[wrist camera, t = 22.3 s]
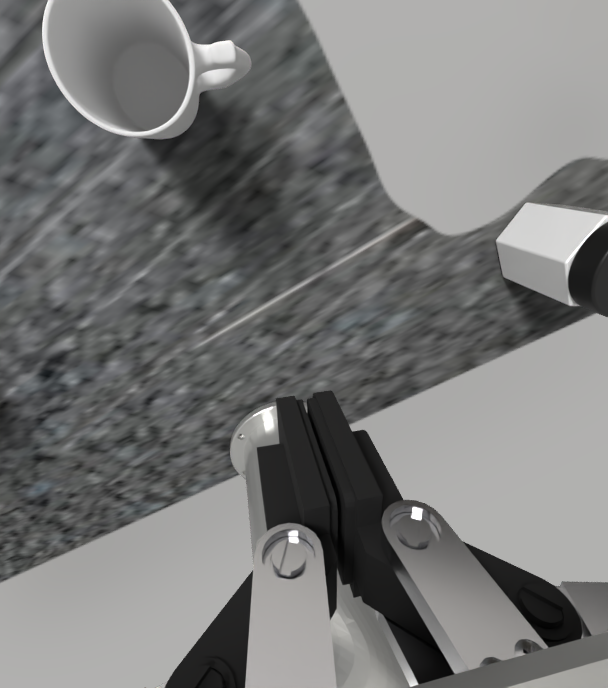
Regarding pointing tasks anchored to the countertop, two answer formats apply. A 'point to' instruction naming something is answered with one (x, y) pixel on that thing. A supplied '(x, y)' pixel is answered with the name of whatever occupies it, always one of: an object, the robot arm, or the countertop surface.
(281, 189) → the countertop surface
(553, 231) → the jar
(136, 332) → the countertop surface
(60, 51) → the mug
